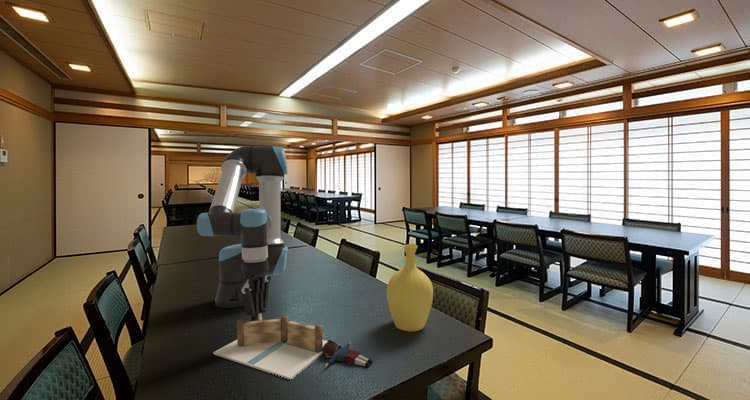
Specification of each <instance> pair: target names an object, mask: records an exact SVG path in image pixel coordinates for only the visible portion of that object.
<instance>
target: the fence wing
mask: <svg viewBox="0 0 750 400" xmlns="http://www.w3.org/2000/svg"><path fill="white" fill-rule="evenodd" d="M288 322H289V315H282V316H280V318H275V319H274V318H273V319H262V320H260V321H252V320H250V321H246V319H245V318H240V319H237V320H236V327H237V328H236V331H237V333H236V336H237V337H236V338H237V339H236V340H237V345H238V346H242V345H248V344H258V343H268V342H279V341H283V342H285V341H288Z"/></svg>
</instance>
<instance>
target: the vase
mask: <svg viewBox="0 0 750 400" xmlns="http://www.w3.org/2000/svg"><path fill="white" fill-rule="evenodd" d="M402 247H403V249H404V252H405V263H404V266H403V267H402V268H401V269H399V270H397V271H396V272H395V273H393V275H392V276H391V277H390V279H389V281H388V284H387V287H386V299H387V304H388V309H389V311H390V315H391V318H392V321H393V323H394V326H395V327H396V328H397V329H399V330H401V331H404V332H418V331H421V330H423V329H424V328H425V326H426V323H427V321H428V318H429V315H430V312H431V309H432V305H433V299H434V287H433V284H432V281H431V280H430V278H429V277H428V276H427V275H426V273H424V272H423V271H422V270H420V269H419V268H418V267H417V266H416V261H415V255H416V252H417V249H418V247H419V246H418V245H417V244H413V243H412V244H411V243H407V244H403V246H402Z"/></svg>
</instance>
